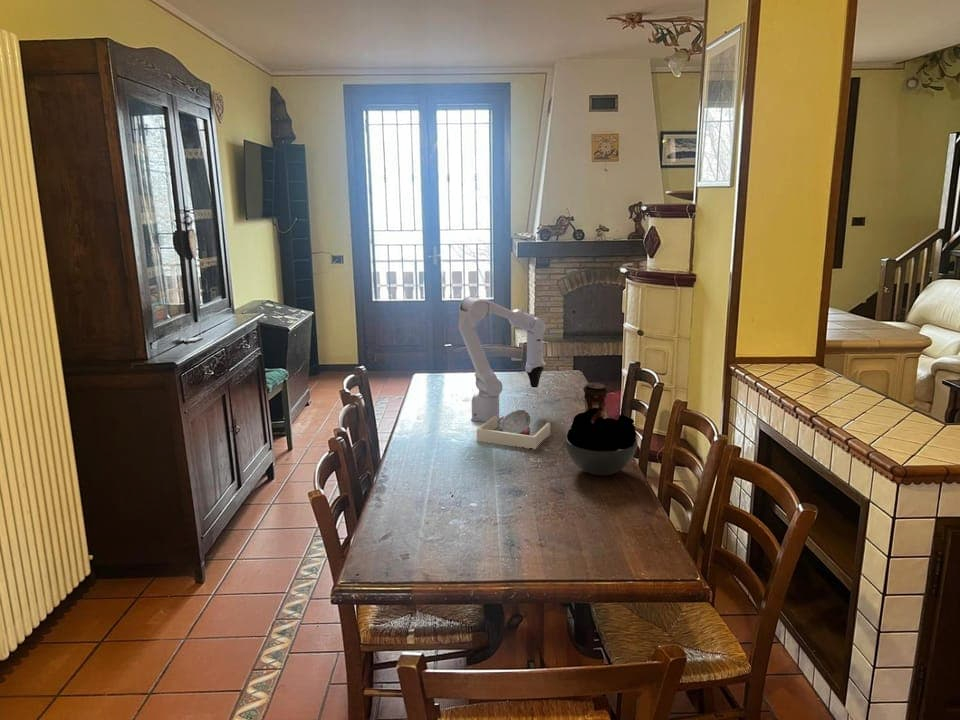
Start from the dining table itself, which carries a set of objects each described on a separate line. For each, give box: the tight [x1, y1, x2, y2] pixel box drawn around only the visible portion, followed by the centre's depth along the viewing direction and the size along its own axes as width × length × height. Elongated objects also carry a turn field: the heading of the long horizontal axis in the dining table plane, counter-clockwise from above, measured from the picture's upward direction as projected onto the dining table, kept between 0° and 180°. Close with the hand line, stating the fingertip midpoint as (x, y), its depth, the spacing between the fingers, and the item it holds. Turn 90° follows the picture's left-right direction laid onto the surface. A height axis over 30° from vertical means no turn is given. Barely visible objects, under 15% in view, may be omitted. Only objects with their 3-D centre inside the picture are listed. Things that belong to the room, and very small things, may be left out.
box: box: [476, 416, 551, 450], centre depth 220 cm, size 20×15×4 cm
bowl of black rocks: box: [564, 408, 638, 476], centre depth 190 cm, size 20×20×19 cm
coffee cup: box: [582, 382, 609, 423], centre depth 235 cm, size 9×8×13 cm
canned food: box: [499, 409, 531, 436], centre depth 221 cm, size 11×10×10 cm
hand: (534, 386), depth 245 cm, fingers closed
